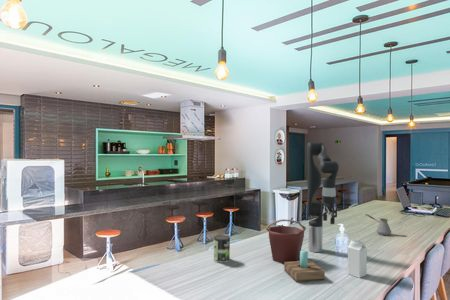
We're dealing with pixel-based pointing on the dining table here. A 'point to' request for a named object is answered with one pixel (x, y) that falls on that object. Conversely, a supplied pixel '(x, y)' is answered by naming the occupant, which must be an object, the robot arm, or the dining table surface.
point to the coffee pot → (382, 227)
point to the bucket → (285, 241)
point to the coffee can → (221, 248)
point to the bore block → (304, 272)
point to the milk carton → (357, 258)
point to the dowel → (303, 259)
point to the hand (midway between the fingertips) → (328, 222)
